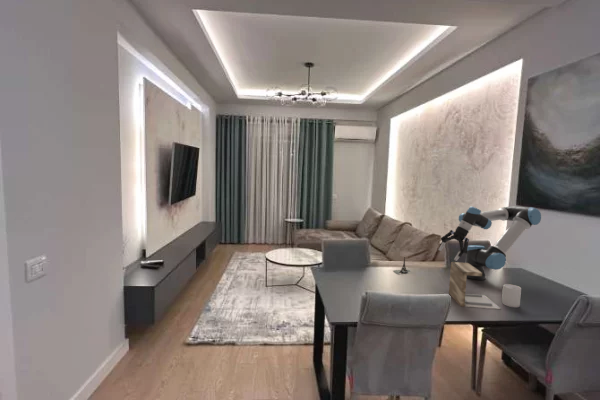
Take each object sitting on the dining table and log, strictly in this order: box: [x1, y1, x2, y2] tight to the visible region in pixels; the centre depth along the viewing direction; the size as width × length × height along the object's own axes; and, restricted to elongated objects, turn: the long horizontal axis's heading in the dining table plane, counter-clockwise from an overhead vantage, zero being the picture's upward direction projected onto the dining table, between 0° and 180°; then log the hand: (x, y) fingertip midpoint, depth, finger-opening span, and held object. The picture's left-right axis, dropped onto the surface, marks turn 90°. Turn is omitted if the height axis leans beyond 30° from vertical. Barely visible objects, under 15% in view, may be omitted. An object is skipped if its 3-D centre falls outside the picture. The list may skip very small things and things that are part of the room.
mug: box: [501, 283, 522, 308], centre depth 186 cm, size 9×12×11 cm
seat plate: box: [464, 293, 501, 310], centre depth 188 cm, size 18×20×2 cm
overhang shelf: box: [448, 261, 482, 308], centre depth 188 cm, size 10×20×20 cm, turn 173°
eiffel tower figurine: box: [392, 256, 411, 275], centre depth 241 cm, size 15×10×13 cm
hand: (447, 255), depth 218 cm, fingers open, 13 cm apart
